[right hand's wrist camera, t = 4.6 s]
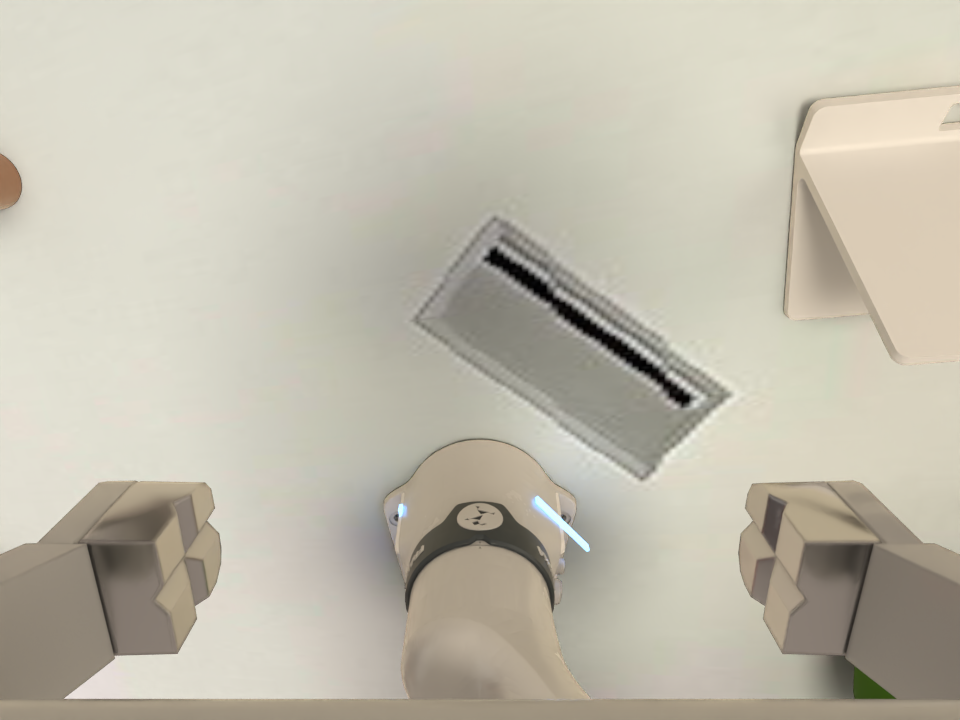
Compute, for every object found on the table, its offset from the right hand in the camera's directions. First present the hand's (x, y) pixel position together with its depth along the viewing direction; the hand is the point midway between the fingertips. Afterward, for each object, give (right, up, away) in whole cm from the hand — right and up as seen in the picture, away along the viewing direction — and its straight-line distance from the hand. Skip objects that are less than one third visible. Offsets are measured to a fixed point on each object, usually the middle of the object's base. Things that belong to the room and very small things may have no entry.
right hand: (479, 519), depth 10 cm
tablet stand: (+38, +16, +45) cm, 61 cm away
